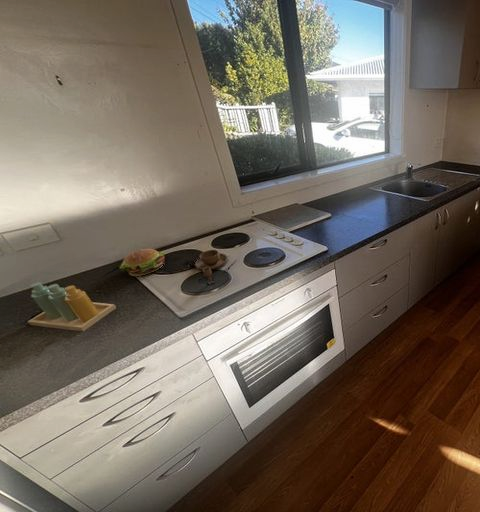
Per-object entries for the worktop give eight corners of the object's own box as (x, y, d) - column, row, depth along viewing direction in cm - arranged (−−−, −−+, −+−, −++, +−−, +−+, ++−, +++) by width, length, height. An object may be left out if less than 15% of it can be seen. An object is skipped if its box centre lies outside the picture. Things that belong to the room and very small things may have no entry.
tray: (31, 326, 89) (27, 321, 88) (67, 303, 98) (64, 299, 97) (84, 332, 87) (80, 327, 86) (116, 308, 96) (114, 304, 95)
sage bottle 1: (44, 318, 91) (20, 288, 85) (60, 309, 95) (38, 279, 89) (57, 320, 91) (33, 289, 85) (72, 310, 95) (50, 280, 89)
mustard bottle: (77, 322, 90) (54, 291, 84) (91, 312, 94) (71, 282, 88) (89, 323, 89) (67, 292, 83) (104, 313, 93) (83, 283, 87)
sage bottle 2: (61, 320, 91) (37, 290, 84) (76, 310, 95) (54, 280, 88) (73, 321, 90) (50, 291, 84) (88, 311, 94) (67, 282, 88)
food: (141, 260, 122) (132, 243, 118) (174, 260, 122) (166, 243, 118) (115, 279, 111) (104, 261, 106) (151, 278, 110) (142, 261, 106)
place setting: (240, 257, 124) (237, 245, 121) (214, 284, 107) (209, 271, 104) (201, 256, 125) (197, 244, 122) (169, 283, 108) (163, 270, 105)
